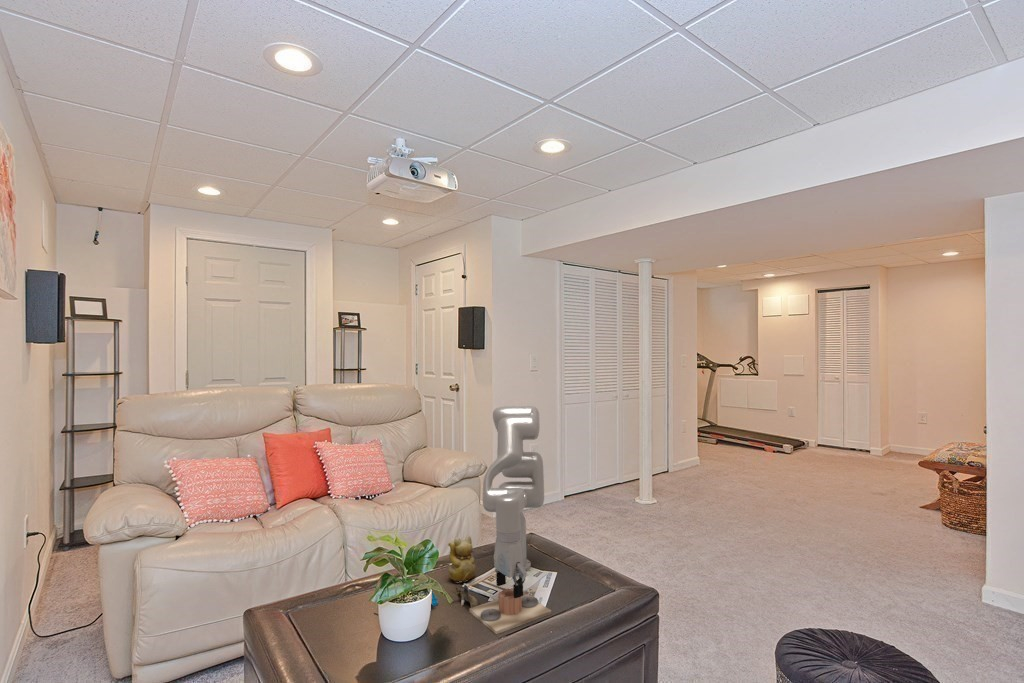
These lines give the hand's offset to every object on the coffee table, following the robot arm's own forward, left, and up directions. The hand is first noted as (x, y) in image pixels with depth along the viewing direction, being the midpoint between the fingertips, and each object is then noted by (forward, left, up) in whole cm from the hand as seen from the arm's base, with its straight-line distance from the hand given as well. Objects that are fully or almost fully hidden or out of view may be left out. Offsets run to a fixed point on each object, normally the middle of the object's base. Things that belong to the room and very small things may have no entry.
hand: (509, 590), depth 163 cm
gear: (-21, -19, -7) cm, 29 cm away
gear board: (0, 0, -7) cm, 7 cm away
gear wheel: (0, 0, -6) cm, 6 cm away
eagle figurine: (-13, -8, -7) cm, 17 cm away
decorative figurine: (-29, -1, -7) cm, 30 cm away
